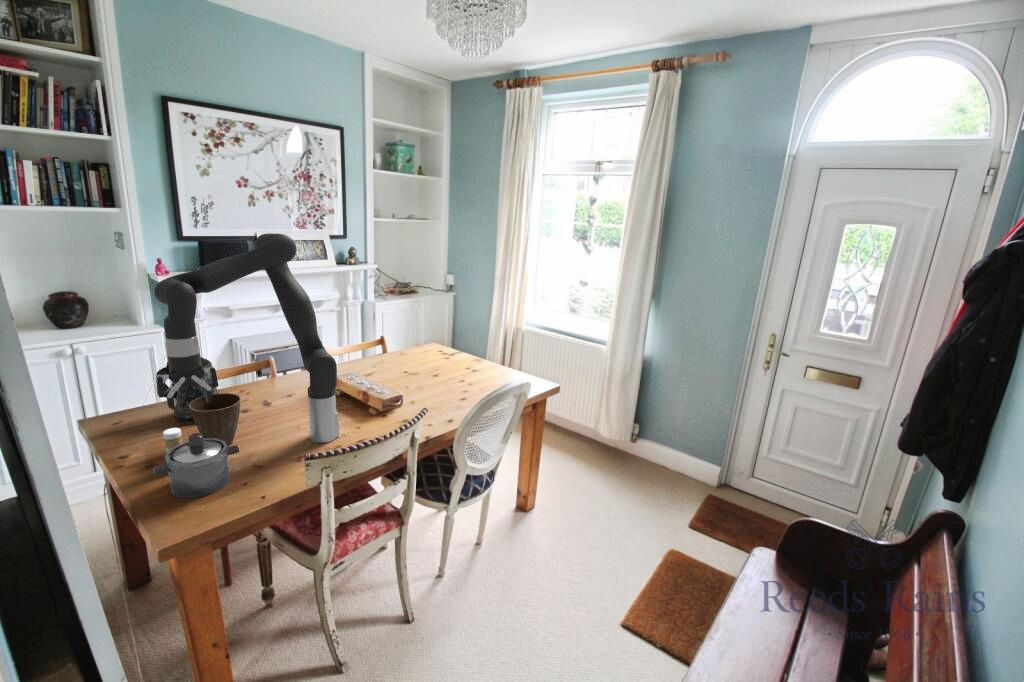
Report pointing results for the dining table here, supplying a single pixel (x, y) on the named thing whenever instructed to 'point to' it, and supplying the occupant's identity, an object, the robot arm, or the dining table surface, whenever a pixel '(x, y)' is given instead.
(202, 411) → the plant pot
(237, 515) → the dining table surface
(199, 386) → the beer stein
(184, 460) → the lid
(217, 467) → the pot
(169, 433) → the sprinkles bottle
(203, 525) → the dining table surface
